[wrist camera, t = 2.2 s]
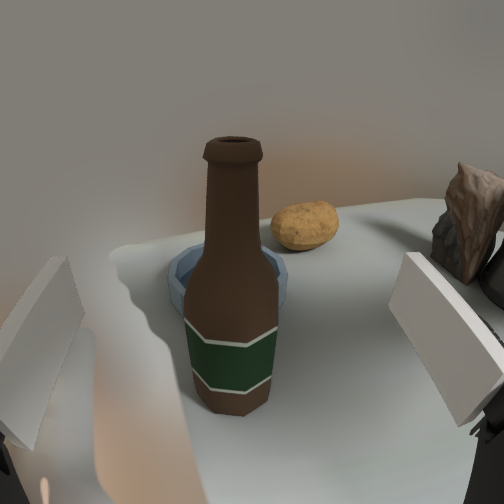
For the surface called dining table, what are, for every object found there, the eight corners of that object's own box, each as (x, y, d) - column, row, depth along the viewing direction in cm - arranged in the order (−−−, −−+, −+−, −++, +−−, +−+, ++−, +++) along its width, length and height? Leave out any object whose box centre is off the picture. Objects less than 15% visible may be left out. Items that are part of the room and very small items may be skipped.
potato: (255, 244, 57) (257, 203, 53) (312, 228, 64) (316, 192, 60) (288, 269, 50) (293, 223, 46) (346, 248, 57) (353, 209, 53)
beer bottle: (190, 367, 32) (166, 134, 20) (257, 355, 34) (271, 130, 22) (204, 427, 25) (173, 155, 14) (282, 409, 28) (322, 151, 16)
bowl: (274, 260, 52) (276, 239, 50) (293, 326, 38) (297, 302, 36) (178, 262, 51) (176, 241, 49) (165, 330, 37) (161, 305, 35)
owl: (423, 253, 56) (446, 158, 47) (456, 246, 60) (478, 163, 50) (465, 286, 46) (499, 182, 36) (494, 274, 49) (524, 185, 39)
